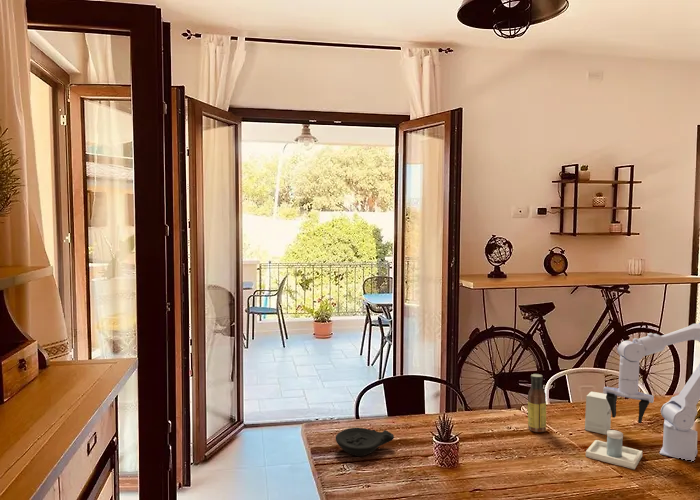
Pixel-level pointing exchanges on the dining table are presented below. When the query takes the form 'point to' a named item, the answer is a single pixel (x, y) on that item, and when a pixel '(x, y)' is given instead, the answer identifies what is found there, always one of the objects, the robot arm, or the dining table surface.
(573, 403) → the dining table surface
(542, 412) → the sauce bottle
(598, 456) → the tray
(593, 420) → the supplement box
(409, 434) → the dining table surface
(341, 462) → the dining table surface
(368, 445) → the oil lamp
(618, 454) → the cylinder
